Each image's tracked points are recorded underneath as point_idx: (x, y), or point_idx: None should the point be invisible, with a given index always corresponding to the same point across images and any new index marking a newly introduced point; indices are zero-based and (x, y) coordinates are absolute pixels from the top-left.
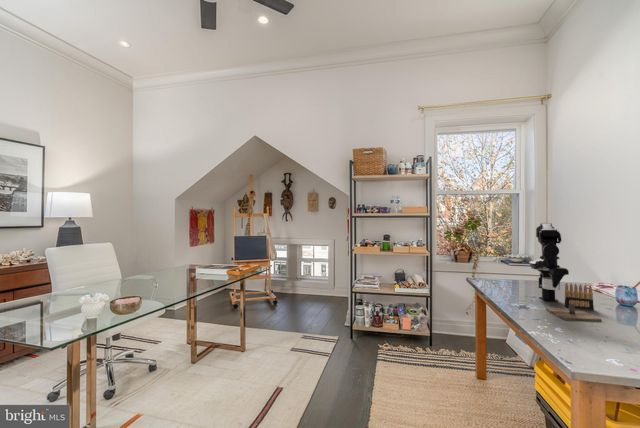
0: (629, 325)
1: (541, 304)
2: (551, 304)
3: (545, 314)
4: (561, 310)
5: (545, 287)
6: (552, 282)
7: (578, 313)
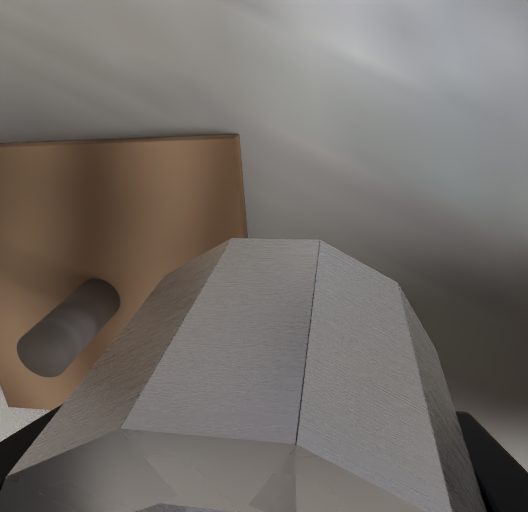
0: None
1: (492, 200)
2: (489, 311)
3: (67, 42)
4: (174, 256)
5: (197, 264)
6: (15, 460)
7: None
